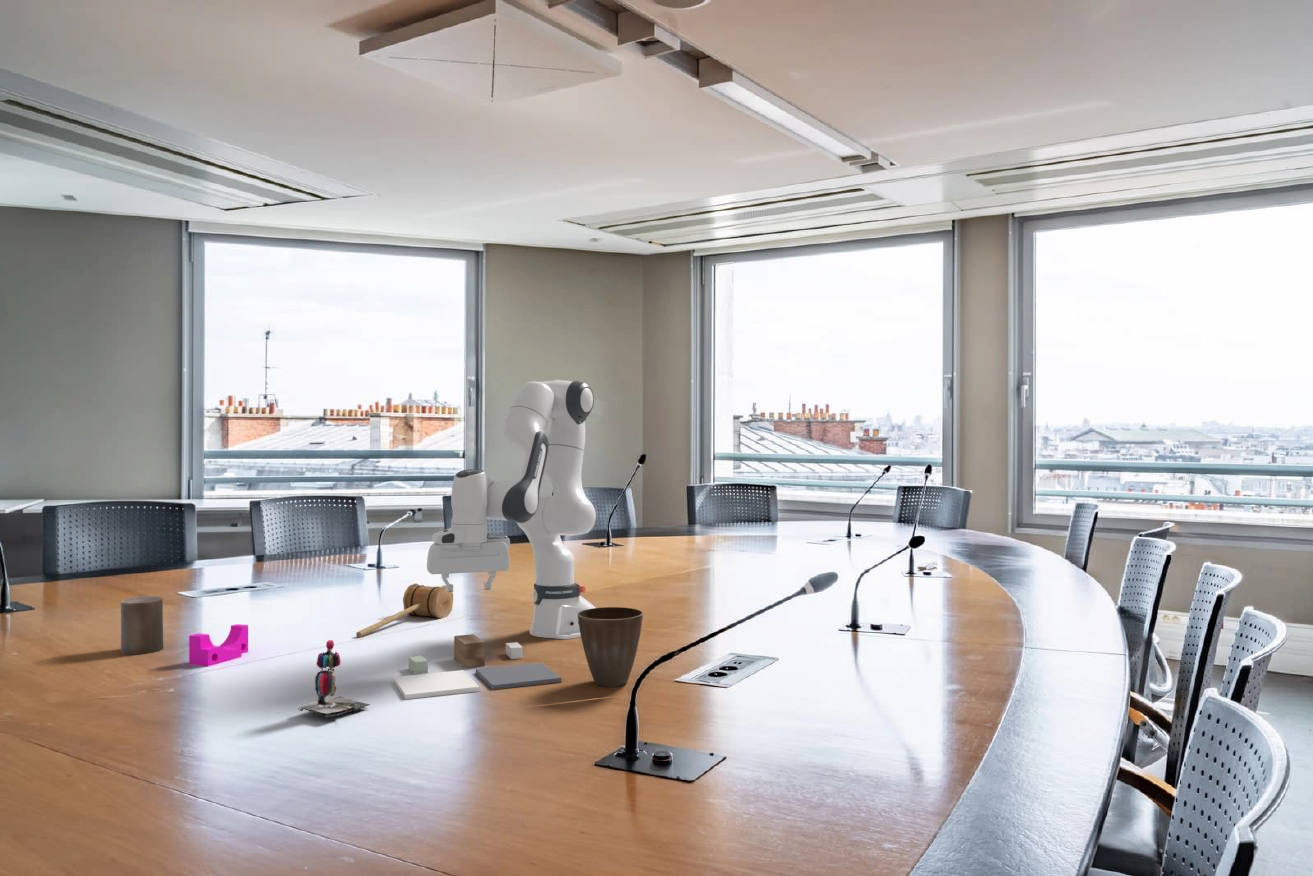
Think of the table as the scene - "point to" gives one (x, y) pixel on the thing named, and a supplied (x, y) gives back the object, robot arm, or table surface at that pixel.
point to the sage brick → (418, 664)
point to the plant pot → (610, 642)
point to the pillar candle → (141, 625)
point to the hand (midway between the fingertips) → (468, 590)
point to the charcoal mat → (517, 675)
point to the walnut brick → (469, 650)
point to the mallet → (419, 605)
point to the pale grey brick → (514, 650)
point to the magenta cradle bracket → (218, 647)
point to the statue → (330, 688)
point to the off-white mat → (435, 684)
